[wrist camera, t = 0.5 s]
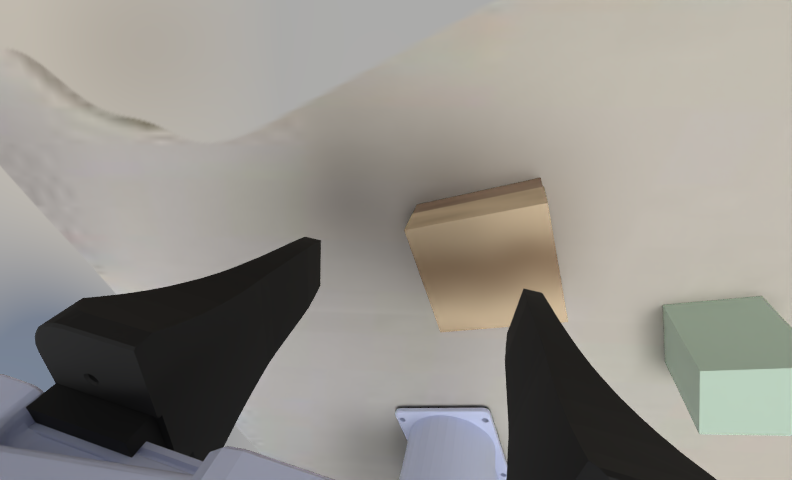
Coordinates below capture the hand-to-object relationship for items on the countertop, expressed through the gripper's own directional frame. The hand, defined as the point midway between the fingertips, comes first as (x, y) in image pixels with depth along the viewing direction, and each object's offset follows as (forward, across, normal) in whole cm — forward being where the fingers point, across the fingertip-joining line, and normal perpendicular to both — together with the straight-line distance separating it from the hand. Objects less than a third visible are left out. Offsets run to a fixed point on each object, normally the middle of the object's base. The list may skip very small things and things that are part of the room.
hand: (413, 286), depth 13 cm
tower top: (+8, -3, +3) cm, 9 cm away
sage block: (+10, -16, +6) cm, 20 cm away
